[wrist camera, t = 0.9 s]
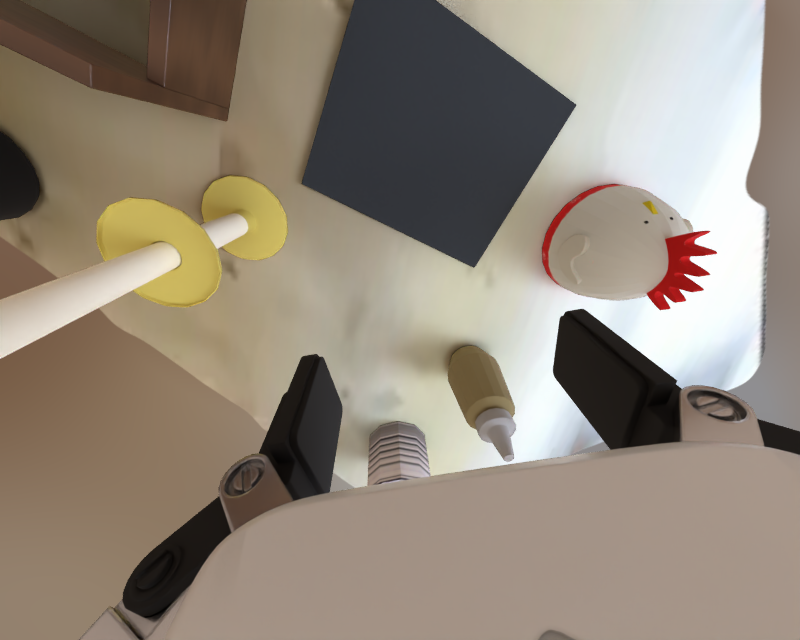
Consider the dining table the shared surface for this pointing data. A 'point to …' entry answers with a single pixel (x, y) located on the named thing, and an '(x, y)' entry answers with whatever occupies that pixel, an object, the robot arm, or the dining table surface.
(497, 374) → the squeeze bottle
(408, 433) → the can
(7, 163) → the coffee jar
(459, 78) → the mat
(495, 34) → the dining table surface
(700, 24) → the dining table surface
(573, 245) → the kitchen timer
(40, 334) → the candle
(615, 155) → the dining table surface
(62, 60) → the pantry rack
